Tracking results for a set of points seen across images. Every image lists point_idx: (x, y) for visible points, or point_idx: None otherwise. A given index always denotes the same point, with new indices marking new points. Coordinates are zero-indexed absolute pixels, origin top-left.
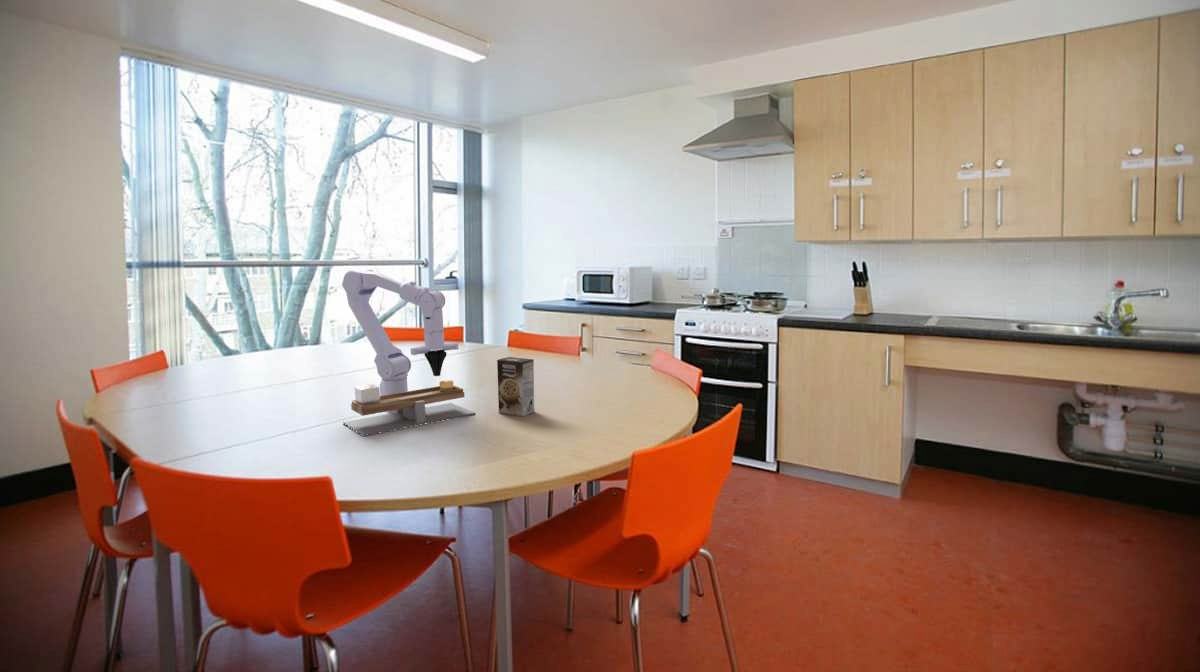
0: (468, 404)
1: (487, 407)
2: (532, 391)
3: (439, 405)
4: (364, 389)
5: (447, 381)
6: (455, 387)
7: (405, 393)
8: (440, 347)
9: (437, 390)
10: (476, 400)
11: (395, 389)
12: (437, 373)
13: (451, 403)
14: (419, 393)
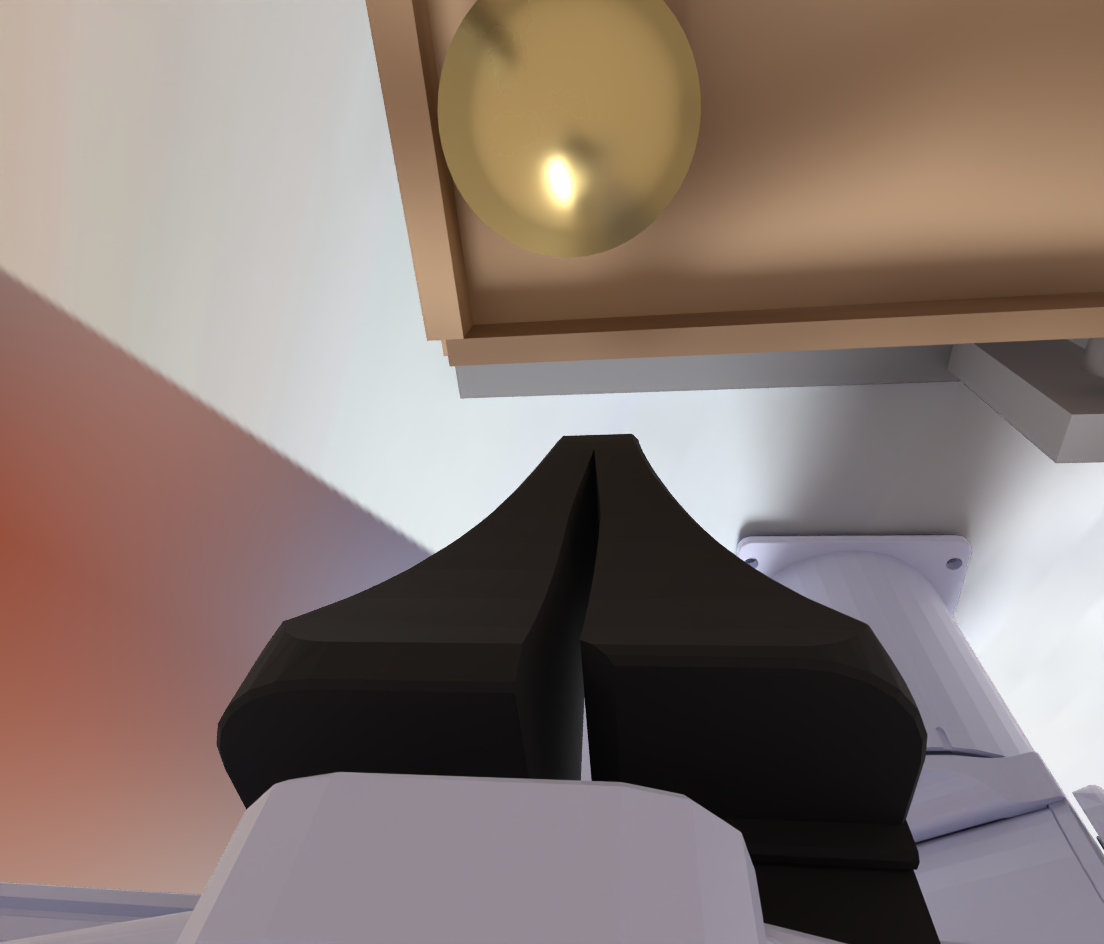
0: (320, 304)
1: (167, 45)
2: None
3: (580, 375)
4: None
5: (537, 141)
6: (429, 109)
7: None
8: (465, 909)
9: (652, 296)
10: (226, 395)
11: (955, 673)
12: (612, 446)
13: (461, 374)
14: (932, 283)
